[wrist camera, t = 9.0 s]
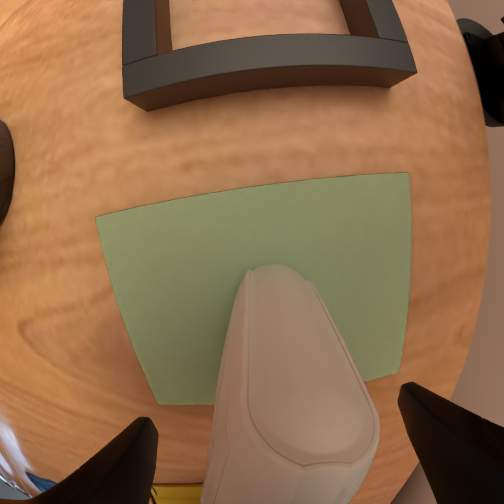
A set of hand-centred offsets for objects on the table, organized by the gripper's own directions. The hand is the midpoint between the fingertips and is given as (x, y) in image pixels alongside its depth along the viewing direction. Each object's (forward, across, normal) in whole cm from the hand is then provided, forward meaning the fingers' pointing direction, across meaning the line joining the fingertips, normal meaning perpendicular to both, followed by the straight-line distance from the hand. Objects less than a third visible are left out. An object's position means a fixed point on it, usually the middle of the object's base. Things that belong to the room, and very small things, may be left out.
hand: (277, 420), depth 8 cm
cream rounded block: (+8, +1, +2) cm, 8 cm away
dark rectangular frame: (+8, -2, -21) cm, 23 cm away
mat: (+8, 0, 0) cm, 8 cm away
